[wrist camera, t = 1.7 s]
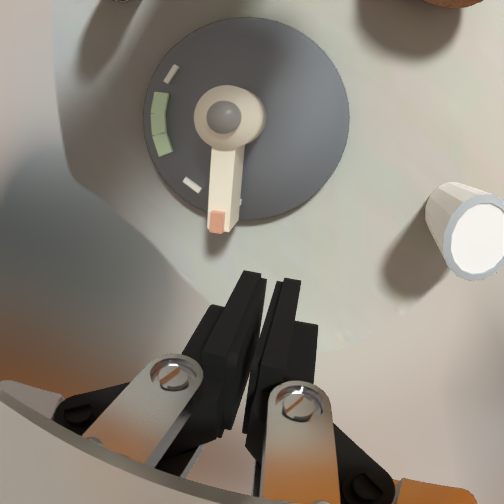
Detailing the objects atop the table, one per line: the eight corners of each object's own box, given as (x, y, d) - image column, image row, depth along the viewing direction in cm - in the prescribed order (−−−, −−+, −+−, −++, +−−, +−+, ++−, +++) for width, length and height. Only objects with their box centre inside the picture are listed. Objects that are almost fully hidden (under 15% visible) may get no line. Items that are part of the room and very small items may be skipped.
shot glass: (411, 241, 27) (433, 277, 21) (425, 168, 24) (454, 185, 18) (472, 250, 26) (502, 285, 20) (487, 182, 23) (526, 203, 17)
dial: (157, 25, 24) (150, 22, 22) (357, 32, 21) (359, 27, 20) (147, 202, 31) (140, 206, 30) (331, 230, 28) (331, 236, 27)
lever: (211, 87, 24) (193, 83, 20) (269, 91, 23) (259, 86, 20) (203, 213, 29) (185, 229, 25) (256, 221, 28) (245, 238, 24)
